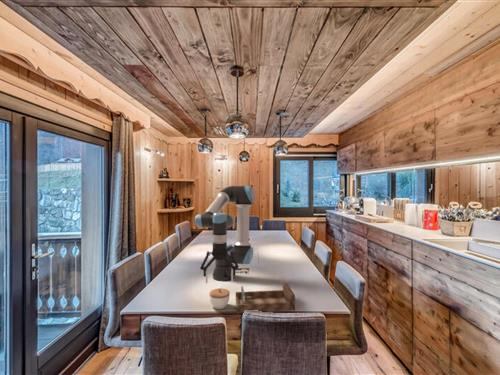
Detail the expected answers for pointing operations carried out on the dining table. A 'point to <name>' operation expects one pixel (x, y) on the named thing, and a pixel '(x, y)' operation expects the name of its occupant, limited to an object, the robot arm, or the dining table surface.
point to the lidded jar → (219, 298)
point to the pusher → (244, 296)
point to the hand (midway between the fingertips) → (219, 282)
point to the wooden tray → (267, 300)
